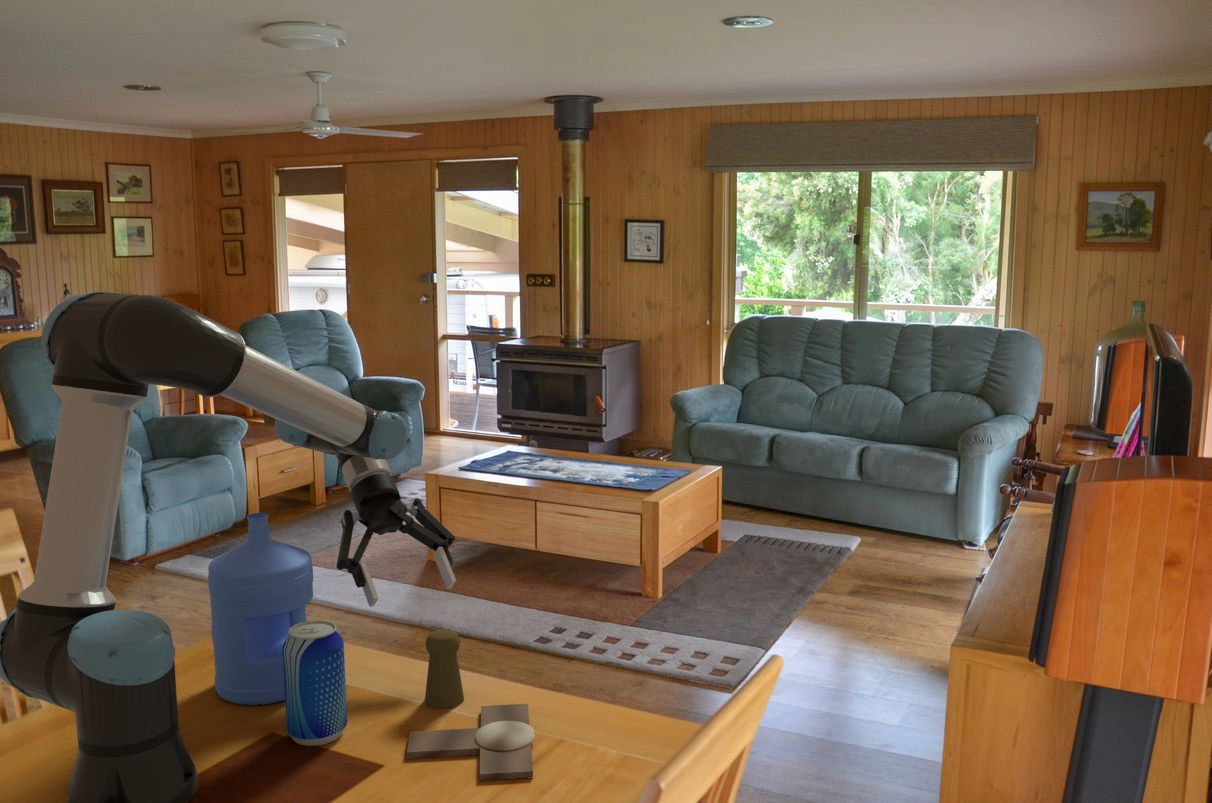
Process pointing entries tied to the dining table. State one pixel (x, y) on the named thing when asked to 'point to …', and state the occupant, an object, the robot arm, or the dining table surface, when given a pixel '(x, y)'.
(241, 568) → the water jug
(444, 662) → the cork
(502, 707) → the walnut T board
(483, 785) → the dining table surface
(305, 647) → the beer can
